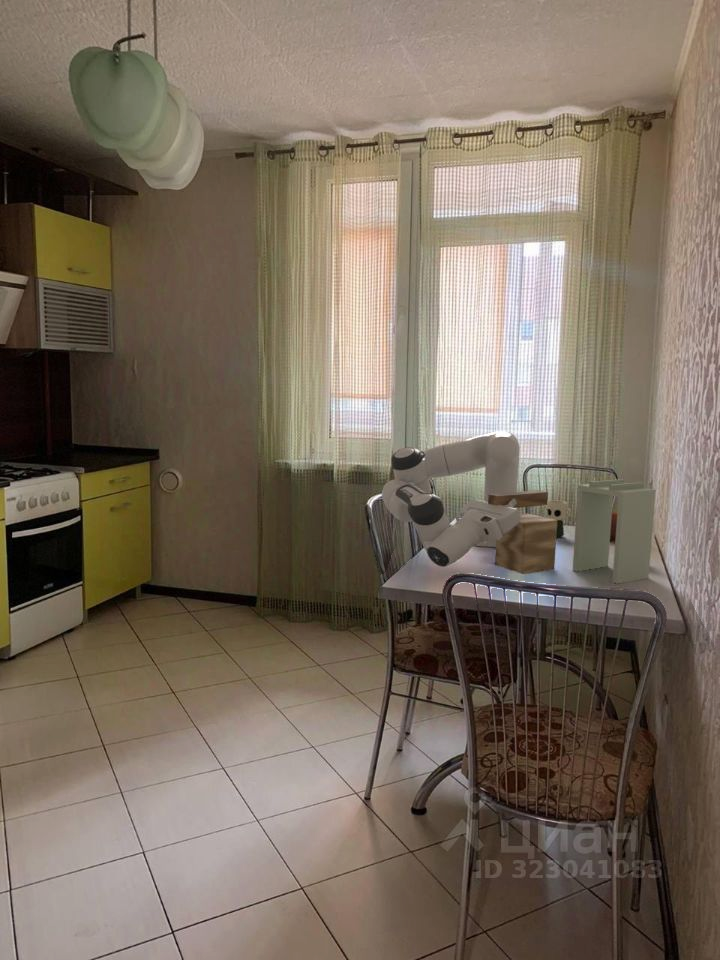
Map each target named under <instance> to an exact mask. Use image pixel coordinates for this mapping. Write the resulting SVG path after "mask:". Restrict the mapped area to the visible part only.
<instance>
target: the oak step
mask: <svg viewBox="0 0 720 960" xmlns="http://www.w3.org/2000/svg"><path fill="white" fill-rule="evenodd" d="M520 515H521V521H520V522H519V523H518V524H517V525H516V526H515V527H513V528H512V529H511V530H510V531H508V532H507V533H504V534H502V538H501V539H499V540H496V547H495V550H494V553H495V556H494V566H497V567H501V568H504V569H506V570H509V571H513V572H515V573H519V574H522V575H525V574H526V575H527V574H531V573H532V574H533V573H538V571H539V572H545V571H550V569H551V570H555V564H556V563H555V561H556V546H557V537H556V534H557V520H554V519H550V518H547V517H546V516H540V515H535V514H531V513H520ZM544 570H545V571H544Z"/></svg>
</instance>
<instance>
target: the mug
mask: <svg viewBox="0 0 720 960" xmlns="http://www.w3.org/2000/svg"><path fill="white" fill-rule="evenodd" d="M617 512H618V509H617V510H615V509H612V517H611V531H610V540H614V541H615V539H616V526H617Z"/></svg>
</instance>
